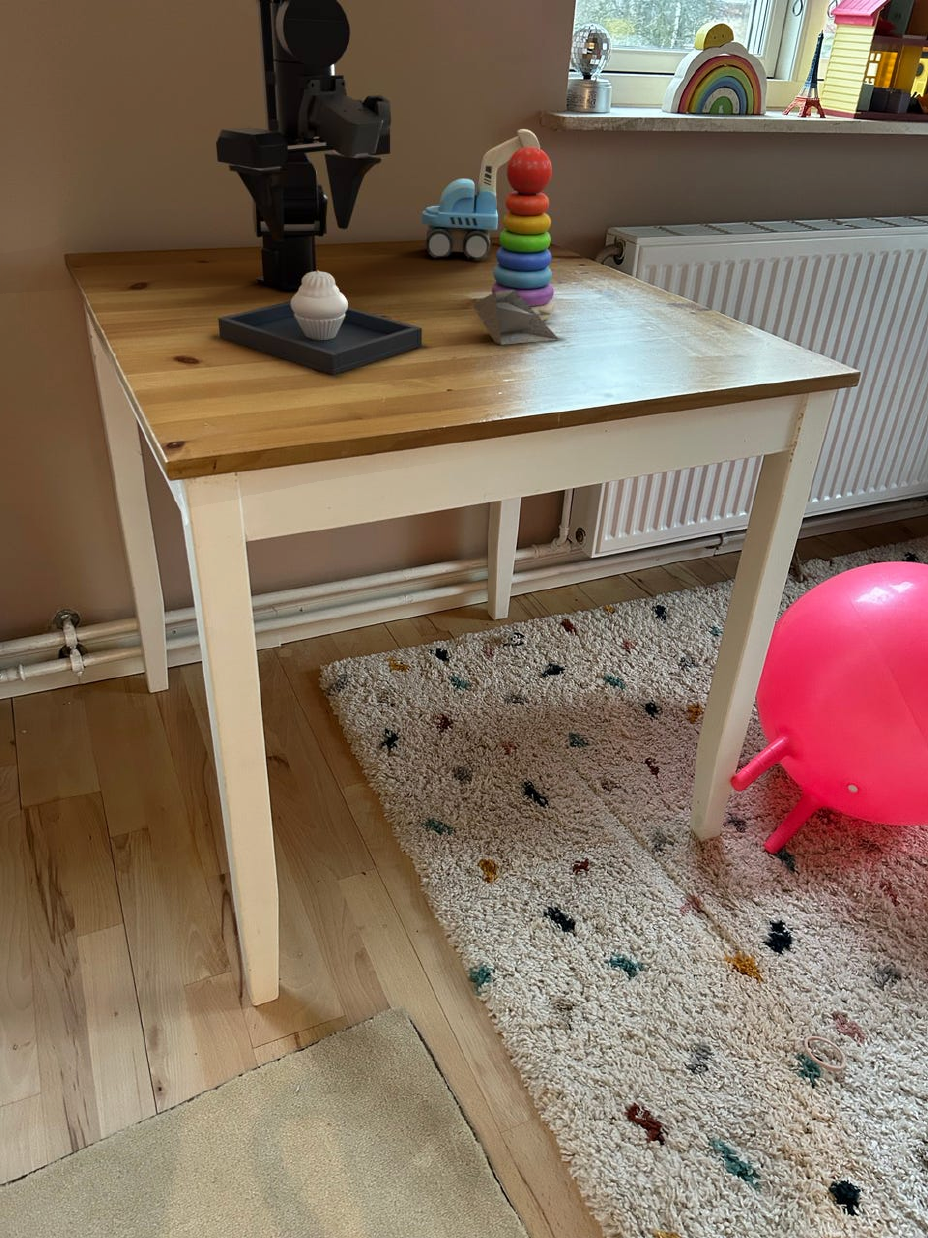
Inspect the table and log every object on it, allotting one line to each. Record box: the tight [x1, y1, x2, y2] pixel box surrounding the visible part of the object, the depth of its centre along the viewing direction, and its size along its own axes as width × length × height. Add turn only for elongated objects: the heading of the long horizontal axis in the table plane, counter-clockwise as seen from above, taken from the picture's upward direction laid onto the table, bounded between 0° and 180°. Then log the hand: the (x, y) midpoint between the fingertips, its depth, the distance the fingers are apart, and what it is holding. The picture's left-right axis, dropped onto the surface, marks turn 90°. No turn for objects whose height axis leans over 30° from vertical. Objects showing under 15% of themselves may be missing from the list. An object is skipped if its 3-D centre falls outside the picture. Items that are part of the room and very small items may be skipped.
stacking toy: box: [491, 147, 555, 322], centre depth 112 cm, size 8×8×19 cm
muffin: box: [290, 269, 349, 340], centre depth 102 cm, size 6×6×7 cm
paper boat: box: [472, 290, 560, 346], centre depth 106 cm, size 12×6×9 cm
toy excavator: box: [421, 128, 541, 262], centre depth 139 cm, size 9×17×17 cm, turn 89°
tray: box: [217, 300, 423, 376], centre depth 104 cm, size 14×18×2 cm
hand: (311, 234), depth 99 cm, fingers open, 9 cm apart
